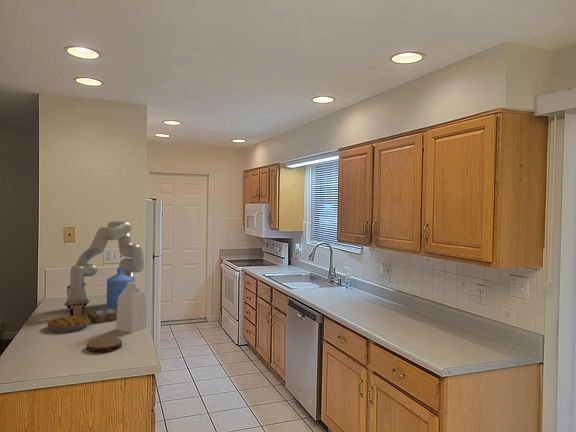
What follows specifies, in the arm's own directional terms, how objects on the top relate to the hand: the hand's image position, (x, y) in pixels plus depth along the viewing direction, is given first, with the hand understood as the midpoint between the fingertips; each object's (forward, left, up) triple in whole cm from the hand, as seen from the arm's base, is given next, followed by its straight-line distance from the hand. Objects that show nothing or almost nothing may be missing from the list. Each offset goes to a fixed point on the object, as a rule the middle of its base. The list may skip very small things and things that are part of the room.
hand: (76, 314), depth 272 cm
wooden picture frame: (-12, +16, -1) cm, 20 cm away
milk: (-17, +45, -1) cm, 48 cm away
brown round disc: (+5, +69, -2) cm, 69 cm away
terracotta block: (0, 0, -1) cm, 1 cm away
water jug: (-26, 0, -1) cm, 26 cm away
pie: (+10, +23, -1) cm, 25 cm away
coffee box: (-4, -18, -1) cm, 18 cm away
